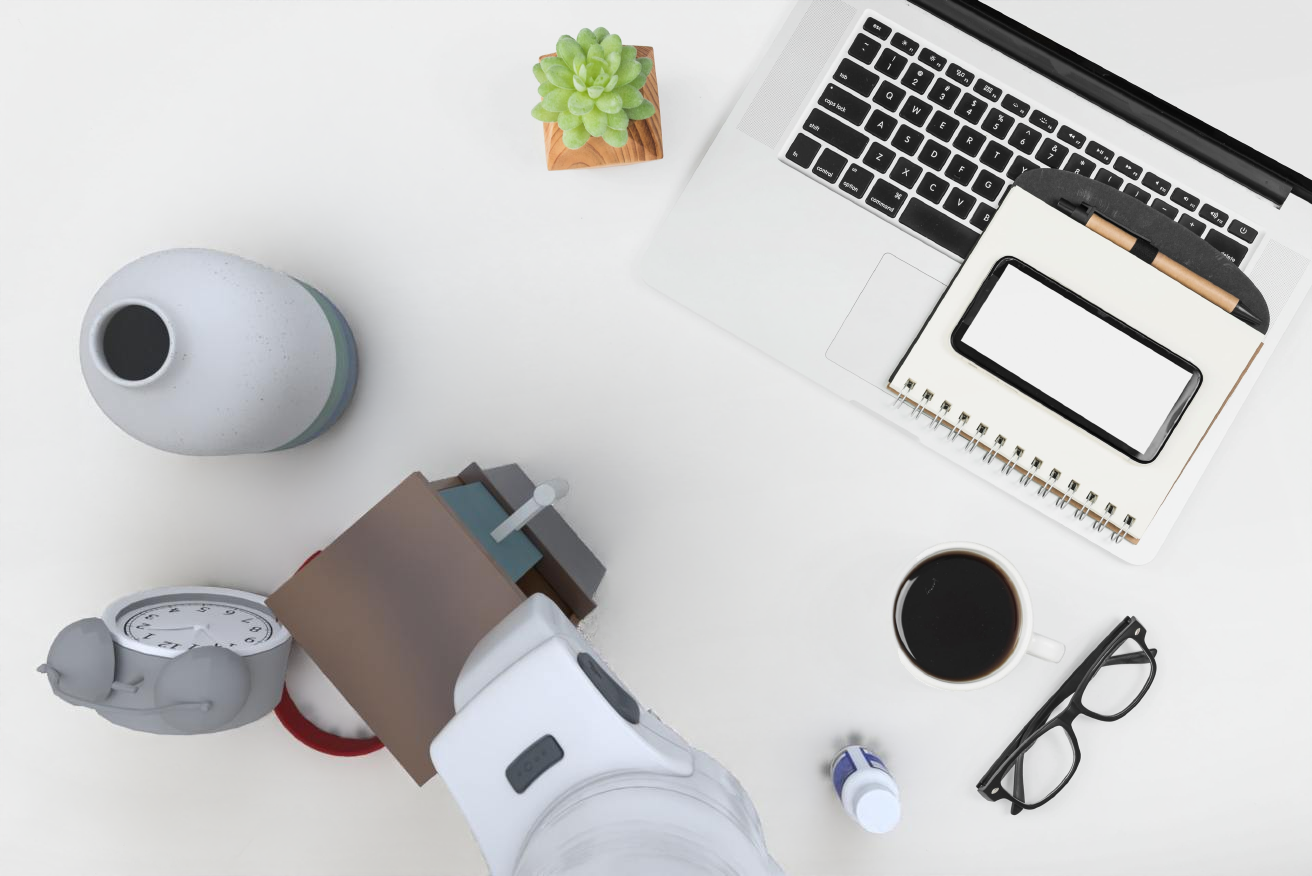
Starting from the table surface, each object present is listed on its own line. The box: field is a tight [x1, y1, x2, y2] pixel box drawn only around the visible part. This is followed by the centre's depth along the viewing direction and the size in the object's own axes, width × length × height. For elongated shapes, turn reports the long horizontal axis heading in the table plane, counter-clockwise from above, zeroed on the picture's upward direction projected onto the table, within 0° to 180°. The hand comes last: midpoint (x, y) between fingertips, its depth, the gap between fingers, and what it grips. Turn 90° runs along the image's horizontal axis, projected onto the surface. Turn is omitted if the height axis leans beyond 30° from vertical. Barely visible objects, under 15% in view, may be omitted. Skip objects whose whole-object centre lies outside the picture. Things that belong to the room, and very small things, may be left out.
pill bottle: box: [829, 744, 902, 835], centre depth 77 cm, size 5×5×9 cm
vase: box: [78, 247, 360, 457], centre depth 71 cm, size 17×17×24 cm
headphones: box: [273, 549, 386, 758], centre depth 80 cm, size 15×7×20 cm
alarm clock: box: [36, 585, 293, 736], centre depth 72 cm, size 16×9×22 cm, turn 77°
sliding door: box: [439, 477, 571, 583], centre depth 54 cm, size 6×7×12 cm
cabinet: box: [264, 461, 607, 788], centre depth 65 cm, size 12×14×35 cm
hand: (656, 738), depth 43 cm, fingers closed
